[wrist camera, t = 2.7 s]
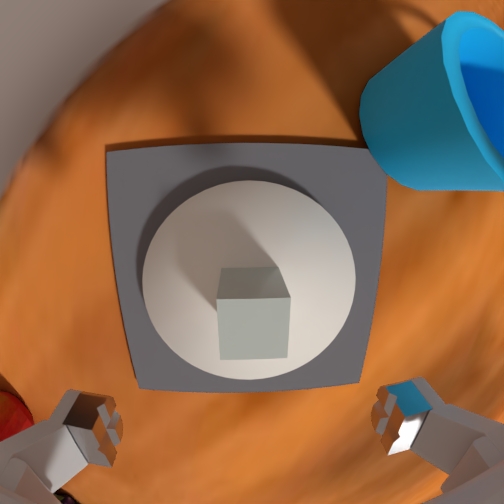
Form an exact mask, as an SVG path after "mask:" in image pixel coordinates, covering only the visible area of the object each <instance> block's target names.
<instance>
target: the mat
mask: <svg viewBox="0 0 504 504" xmlns="http://www.w3.org/2000/svg"><path fill="white" fill-rule="evenodd" d="M244 180H255V181H266V182H271V183H276V184H280V185H283V186H285V187H288V188H291V189H294V190H296V191H298V192H300V193H302V194H304V195H306V196H308V197H309V198H311V199H312V200H314V201H315V202H316V203H318V204H319V205H320V206H322V207H323V208H324V209H325V210H326V211H327V212H328V213H329V214H330V215H331V216H332V217H333V219H334V220H335V221H336V223H337V224H338V225H339V226H340V228H341V230H342V232H343V233H344V235H345V237H346V239H347V241H348V244H349V246H350V249H351V251H352V256H353V260H354V264H355V276H356V280H355V292H354V298H353V303H352V306H351V309H350V312H349V315H348V317H347V319H346V321H345V323H344V325H343V327H342V328H341V330H340V331H339V333H338V334H337V336H336V337H335V338H334V340H333V341H332V342H331V343H330V344H329V345H328V346H327V347H326V348H325V349H324V350H323V351H322V352H321V353H320V354H319V355H317V356H316V357H315V358H313V359H312V360H311V361H309V362H308V363H306V364H304V365H302V366H301V367H299V368H297V369H294V370H292V371H290V372H287V373H284V374H281V375H278V376H274V377H269V378H264V379H253V380H245V379H232V378H226V377H222V376H218V375H214V374H211V373H208V372H206V371H203V370H201V369H199V368H197V367H195V366H193V365H191V364H190V363H188V362H187V361H185V360H184V359H182V358H181V357H180V356H178V355H177V354H176V353H175V352H174V351H173V350H172V349H171V348H170V347H169V346H168V345H167V344H166V343H165V342H164V341H163V339H162V338H161V336H160V335H159V334H158V332H157V331H156V329H155V327H154V325H153V323H152V321H151V319H150V317H149V314H148V311H147V309H146V305H145V301H144V296H143V285H142V278H143V267H144V262H145V258H146V254H147V251H148V248H149V246H150V243H151V241H152V239H153V237H154V235H155V234H156V232H157V230H158V228H159V227H160V226H161V225H162V223H163V222H164V221H165V219H166V218H167V217H168V216H169V215H170V214H171V213H172V212H173V211H174V210H175V209H176V208H177V207H178V206H180V205H181V204H182V203H184V202H185V201H186V200H188V199H189V198H191V197H193V196H194V195H196V194H198V193H200V192H202V191H204V190H206V189H208V188H211V187H214V186H217V185H219V184H224V183H228V182H233V181H244ZM107 189H108V206H109V220H110V231H111V241H112V250H113V259H114V266H115V274H116V280H117V287H118V293H119V299H120V305H121V311H122V316H123V321H124V326H125V331H126V336H127V341H128V345H129V349H130V354H131V358H132V362H133V366H134V370H135V374H136V378H137V382H138V385H139V389H149V390H162V391H179V392H206V393H244V392H271V391H288V390H301V389H312V388H322V387H331V386H339V385H346V384H354V383H359V381H360V377H361V373H362V368H363V364H364V359H365V355H366V350H367V345H368V341H369V335H370V330H371V325H372V319H373V314H374V308H375V301H376V295H377V288H378V281H379V274H380V266H381V257H382V248H383V237H384V225H385V211H386V193H387V174H386V173H385V171H384V170H383V169H382V168H381V166H380V165H379V164H378V162H377V161H376V160H375V159H374V157H373V156H372V154H371V152H370V150H369V149H363V148H352V147H341V146H327V145H310V144H287V143H214V144H190V145H173V146H160V147H148V148H138V149H128V150H119V151H111V152H107Z"/></svg>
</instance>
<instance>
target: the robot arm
mask: <svg viewBox="0 0 504 504" xmlns="http://www.w3.org/2000/svg"><path fill="white" fill-rule="evenodd" d="M376 396H377V398H378V399H379V400H378V401H377V402H376V403H375V404H374V405H373V408H372V412H371V421H372V425H373V428H374V430H375V432H377V433H379V434H381V435H382V437H381V440H380V442H381V443H382V445H383V447H384V449H385V451H386V453H387V455H390V454H394V453H397V452H401V451H404V450H408V449H410V450H411V451H413V452H414V453H416V454H417V455H419V456H420V457H422V458H423V459H425V460H426V461H428V462H429V463H431V464H433V465H434V466H436V467H437V468H439V469H441V470H442V471H444V472H445V473H447V474H449V476H448V478H447V479H446V480H445V481H444V483H443V484H442V486H441V490H442V492H443V494H442V495H440V496H437V497H435V498H433V499H431V500H429V501H426V502H424V503H422V504H504V424H502V423H499V422H497V421H494V420H491V419H488V418H486V417H483V416H480V415H478V414H475V413H472V412H470V411H467V410H464V409H462V408H459V407H457V406H454V405H452V404H447V405H446V404H445V403H444V402H443V400H442V399H441V398H440V397H439V396H438V394H437V393H436V392H435V391H434V390H433V388H432V387H431V386H430V385H429V384H428V382H427V381H426V380H425V379H424V378H423V377H416V378H413V379H409V380H405V381H401V382H397V383H392V384H388V385H383V386H381V387H380V388H379V389H378V392H377V395H376ZM115 407H116V403H115V401H114V398H113V397H111V396H107V395H101V394H95V393H90V392H84V391H83V392H82V391H78V390H73V389H70V390H67V391H66V393H65V394H64V396H63V397H62V399H61V401H60V402H59V404H58V405H57V407H56V409H55V410H54V412H53V413H52V415H51V417H50V418H49V420H43V421H41V422H39V423H37V424H35V425H33V426H31V427H29V428H27V429H25V430H23V431H21V432H19V433H17V434H15V435H13V436H11V437H9V438H7V439H5V440H3V441H1V442H0V504H62V503H61V502H60V501H59V500H58V499H57V498H56V497H55V496H54V495H53V493H54V492H55V491H56V490H58V489H59V488H60V487H61V486H63V485H64V484H65V483H66V482H67V481H69V480H70V479H71V478H72V477H74V476H75V475H76V474H77V473H78V472H80V471H81V470H82V469H83V468H84V467H86V466H87V465H88V463H91V464H96V465H101V466H106V467H112V466H113V463H114V460H115V457H116V454H117V451H116V449H115V447H114V446H116V445H117V444H119V443H120V442H121V439H122V436H123V423H122V419H121V416H120V415H119V414H118V413H117V412H116V411H115Z"/></svg>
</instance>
